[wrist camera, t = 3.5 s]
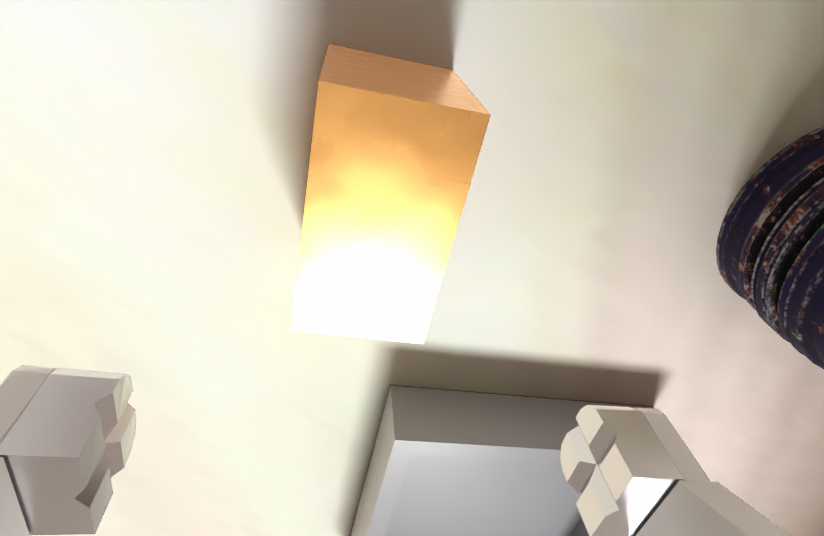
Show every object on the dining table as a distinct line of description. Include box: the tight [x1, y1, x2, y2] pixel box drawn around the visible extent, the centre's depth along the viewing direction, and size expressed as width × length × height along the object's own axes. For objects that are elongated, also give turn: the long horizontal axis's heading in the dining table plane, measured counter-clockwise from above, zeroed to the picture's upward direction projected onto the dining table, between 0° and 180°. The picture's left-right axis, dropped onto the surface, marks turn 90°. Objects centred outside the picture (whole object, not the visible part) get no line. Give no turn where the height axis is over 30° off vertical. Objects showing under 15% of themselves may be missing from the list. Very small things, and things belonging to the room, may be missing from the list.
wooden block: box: [291, 44, 490, 344], centre depth 17 cm, size 4×8×6 cm, turn 168°
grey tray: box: [350, 385, 655, 536], centre depth 30 cm, size 16×16×4 cm
